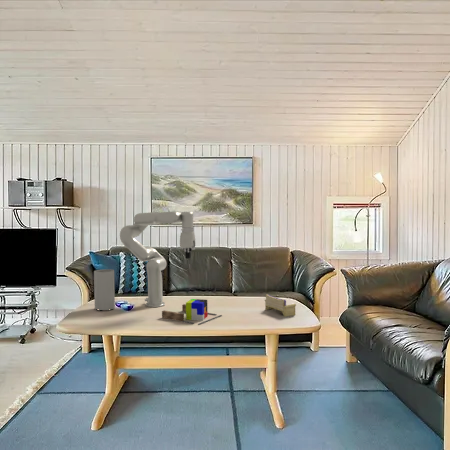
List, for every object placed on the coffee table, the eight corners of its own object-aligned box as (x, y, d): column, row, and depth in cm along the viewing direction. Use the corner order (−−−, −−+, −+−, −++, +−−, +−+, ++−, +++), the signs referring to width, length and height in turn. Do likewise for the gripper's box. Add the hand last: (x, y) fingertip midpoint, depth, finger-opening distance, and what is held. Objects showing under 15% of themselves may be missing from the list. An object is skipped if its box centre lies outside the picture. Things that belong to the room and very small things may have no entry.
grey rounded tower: (113, 306, 269) (112, 268, 268) (116, 310, 258) (115, 271, 257) (93, 308, 263) (92, 270, 263) (96, 312, 252) (95, 272, 251)
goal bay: (182, 322, 228) (182, 321, 228) (205, 313, 247) (205, 312, 247) (199, 325, 221) (199, 324, 221) (221, 315, 240) (221, 315, 240)
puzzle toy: (202, 320, 230) (202, 303, 230) (186, 319, 233) (185, 302, 232) (207, 316, 240) (207, 299, 240) (191, 315, 242) (191, 299, 242)
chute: (162, 317, 237) (161, 311, 237) (184, 310, 255) (184, 304, 255) (181, 321, 229) (181, 314, 229) (203, 313, 247) (203, 306, 246)
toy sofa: (296, 315, 241) (296, 298, 241) (285, 317, 237) (284, 299, 236) (275, 308, 259) (275, 292, 259) (264, 309, 255) (264, 293, 255)
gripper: (175, 230, 264) (175, 258, 265) (193, 230, 256) (193, 259, 257) (182, 230, 271) (182, 257, 271) (200, 230, 262) (200, 258, 263)
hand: (188, 258), depth 264 cm, fingers closed
